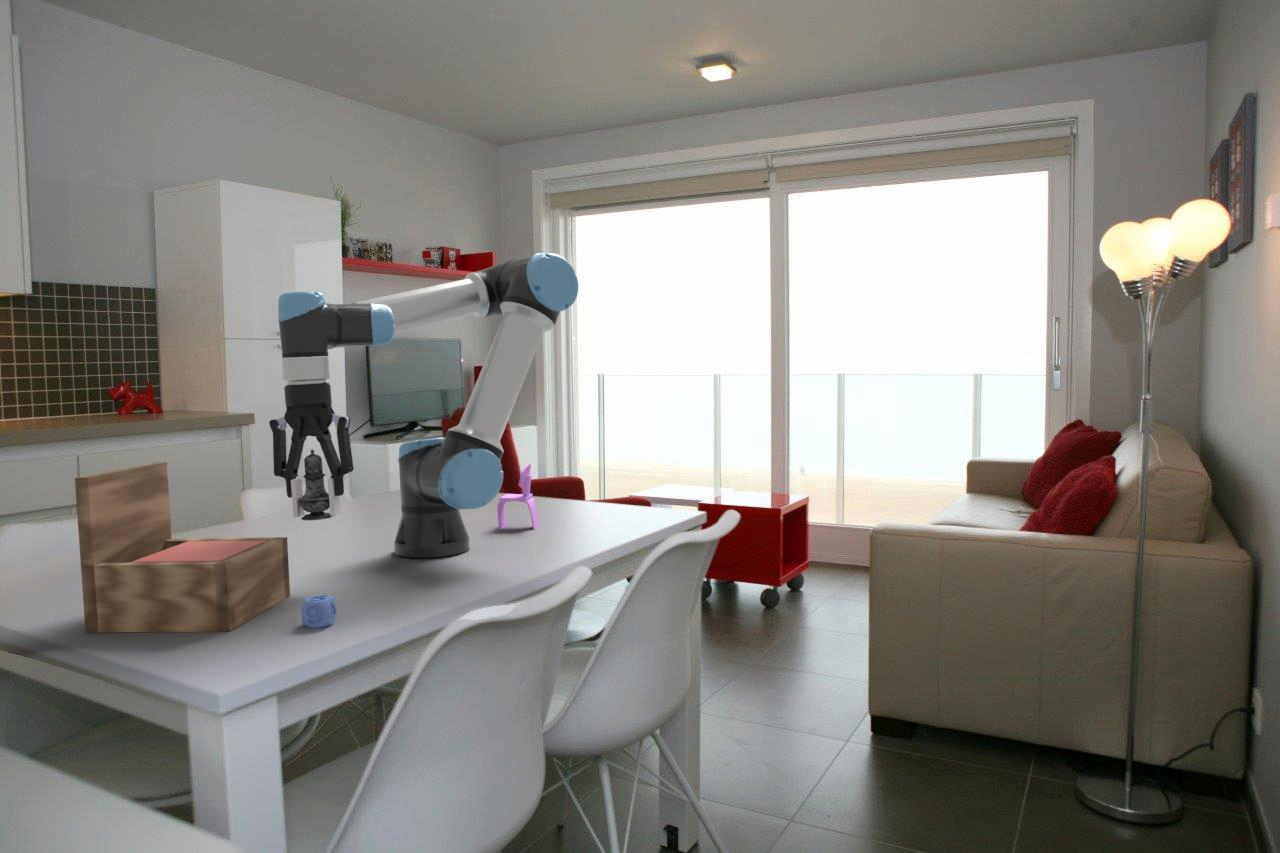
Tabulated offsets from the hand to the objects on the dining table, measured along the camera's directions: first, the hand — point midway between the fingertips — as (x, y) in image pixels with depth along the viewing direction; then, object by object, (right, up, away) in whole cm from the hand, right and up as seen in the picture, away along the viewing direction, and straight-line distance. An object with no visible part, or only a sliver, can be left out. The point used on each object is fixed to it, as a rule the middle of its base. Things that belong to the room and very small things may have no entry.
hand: (317, 514), depth 159 cm
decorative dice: (+8, -14, -23) cm, 28 cm away
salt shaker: (0, -1, 0) cm, 1 cm away
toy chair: (+28, -8, +54) cm, 61 cm away
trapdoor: (-12, -5, -16) cm, 21 cm away
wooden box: (-14, -14, -15) cm, 25 cm away
